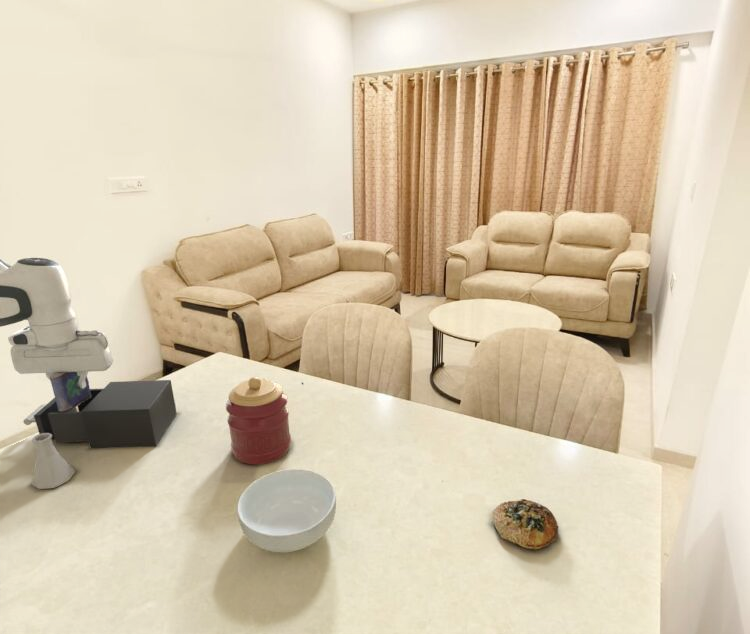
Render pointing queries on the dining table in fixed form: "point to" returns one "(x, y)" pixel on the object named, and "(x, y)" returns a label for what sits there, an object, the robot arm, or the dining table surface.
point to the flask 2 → (49, 464)
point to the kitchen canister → (258, 421)
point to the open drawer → (61, 421)
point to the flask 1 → (68, 390)
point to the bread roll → (525, 523)
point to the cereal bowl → (287, 510)
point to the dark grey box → (129, 414)
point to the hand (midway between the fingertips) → (71, 388)
